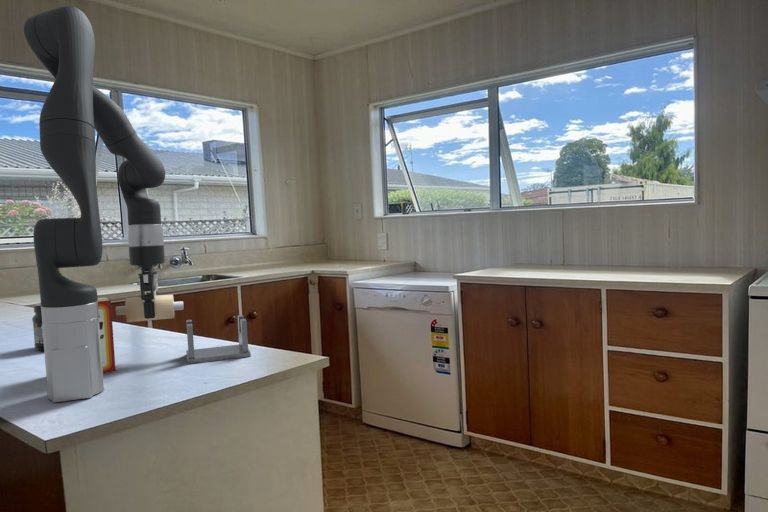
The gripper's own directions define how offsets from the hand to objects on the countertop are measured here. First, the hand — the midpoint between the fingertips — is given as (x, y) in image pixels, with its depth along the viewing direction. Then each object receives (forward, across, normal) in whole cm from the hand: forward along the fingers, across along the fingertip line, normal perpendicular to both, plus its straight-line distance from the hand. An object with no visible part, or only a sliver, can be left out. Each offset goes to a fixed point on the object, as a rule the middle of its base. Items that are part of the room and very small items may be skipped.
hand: (151, 316), depth 125 cm
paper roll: (+1, 0, 0) cm, 1 cm away
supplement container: (+10, +28, +26) cm, 39 cm away
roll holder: (+10, -2, -14) cm, 18 cm away
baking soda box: (+11, -4, +13) cm, 17 cm away
